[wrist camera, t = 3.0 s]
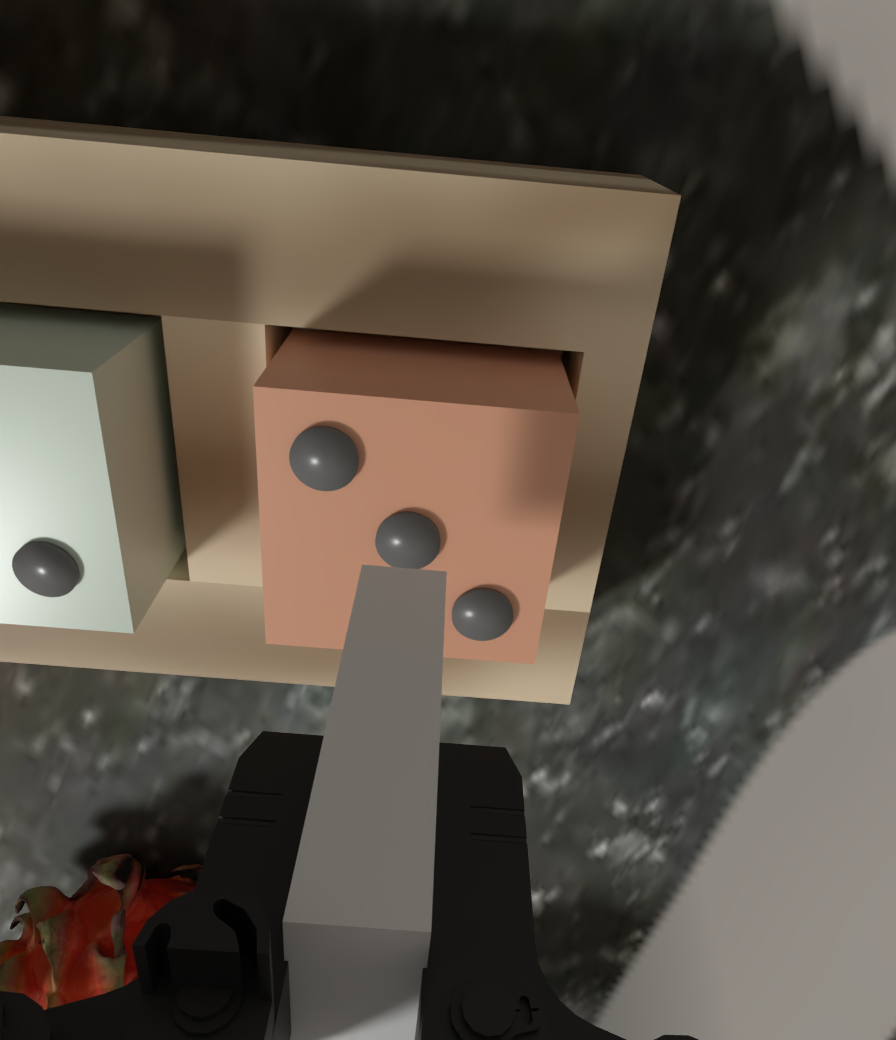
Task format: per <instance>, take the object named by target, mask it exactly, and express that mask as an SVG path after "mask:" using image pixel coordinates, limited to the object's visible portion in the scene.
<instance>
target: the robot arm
mask: <svg viewBox="0 0 896 1040" xmlns="http://www.w3.org/2000/svg"><path fill="white" fill-rule="evenodd" d="M446 577H447V571H435V570H423V569H410V568H398V567H386V566H373V565H362V567H361V571H360V576H359V580H358V585H357V589H356V594H355V598H354V603H353V607H352V612H351V616H350V621H349V625H348V630H347V634H346V639H345V643H344V648H343V652H342V657H341V661H340V666H339V670H338V675H337V679H336V684H335V688H334V693H333V697H332V702H331V706H330V711H329V715H328V720H327V724H326V729H325V733H324V736H319V735H306V734H292V733H279V732H266V731H263V732H262V733H261V734H260V735H259V736H258V737H257V738H256V739H255V741H254V742H253V743H252V744H251V745H250V746H249V747H248V748H247V749H246V751H245V752H244V753H243V754H242V755H241V756H240V757H239V759H238V762H237V765H236V768H235V771H234V774H233V777H232V780H231V783H230V786H229V789H228V795H227V796H226V797H225V800H224V803H223V806H222V809H221V812H220V815H219V821H218V823H217V824H216V827H215V829H214V832H213V835H212V838H211V841H210V844H209V847H208V850H207V853H206V856H205V859H204V862H203V865H202V867H201V870H200V873H199V876H198V879H197V882H196V885H195V888H194V890H193V891H190V892H188V893H186V894H184V895H182V896H179V897H177V898H175V899H173V900H170V901H168V902H167V903H166V904H165V905H164V906H163V907H162V908H160V909H159V910H158V911H157V912H156V913H155V914H154V915H152V916H151V917H150V918H149V919H148V920H147V921H146V922H145V924H144V926H143V927H142V929H141V931H140V932H139V934H138V936H137V937H136V939H135V941H134V942H133V944H132V949H133V953H134V958H135V963H136V967H137V972H138V978H137V979H135V980H133V981H132V982H130V983H128V984H127V985H125V986H123V987H120V988H118V989H115V990H112V991H110V992H107V993H104V994H101V995H97V996H94V997H90V998H86V999H82V1000H79V1001H75V1002H71V1003H67V1004H64V1005H60V1006H56V1007H53V1008H49V1009H45V1010H43V1007H42V1006H41V1005H39V1004H38V1003H37V1002H35V1001H34V1000H32V999H31V998H30V997H28V996H27V995H25V994H24V993H15V992H6V991H0V1040H626V1039H623V1038H621V1037H619V1036H617V1035H614V1034H612V1033H610V1032H608V1031H605V1030H603V1029H601V1028H598V1027H596V1026H594V1025H592V1024H591V1023H589V1022H587V1021H585V1020H584V1019H582V1018H580V1017H578V1016H577V1015H575V1014H574V1013H573V1012H572V1011H571V1010H570V1009H568V1008H567V1007H566V1006H565V1005H564V1004H563V1003H562V1002H561V1001H560V1000H559V999H558V998H557V996H556V995H555V994H554V992H553V991H552V989H551V988H550V987H549V985H548V984H547V982H546V980H545V978H544V975H543V973H542V971H541V969H540V967H539V963H538V958H537V953H536V948H535V937H534V925H533V912H532V899H531V887H530V874H529V861H528V849H527V844H526V837H527V836H526V824H525V816H524V798H523V786H522V776H521V775H520V773H519V771H518V769H517V767H516V766H515V764H514V762H513V760H512V759H511V757H510V755H509V753H508V751H507V750H506V748H503V747H490V746H477V745H464V744H451V743H439V740H440V717H441V694H442V670H443V647H444V624H445V601H446ZM655 1040H698V1039H695V1038H693V1037H691V1036H687V1035H686V1036H684V1035H663V1036H661V1037H659V1038H657V1039H655Z"/></svg>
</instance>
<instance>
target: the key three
mask: <svg viewBox="0 0 896 1040" xmlns="http://www.w3.org/2000/svg"><path fill="white" fill-rule="evenodd" d="M253 399H254V419H255V439H256V459H257V479H258V499H259V519H260V539H261V559H262V580H263V600H264V620H265V640H266V644H276V645H289V646H302V647H315V648H328V649H342V650H343V648H344V643H345V639H346V634H347V630H348V625H349V621H350V616H351V612H352V607H353V603H354V598H355V594H356V589H357V585H358V580H359V576H360V571H361V567H362V565H373V566H386V567H398V568H410V569H423V570H435V571H447V577H446V601H445V624H444V647H443V657H446V658H459V659H472V660H485V661H498V662H511V663H524V664H535V660H536V654H537V649H538V643H539V638H540V632H541V627H542V621H543V616H544V610H545V604H546V599H547V593H548V588H549V582H550V577H551V571H552V566H553V560H554V555H555V549H556V544H557V538H558V533H559V527H560V522H561V516H562V511H563V505H564V500H565V494H566V489H567V483H568V478H569V472H570V467H571V461H572V456H573V450H574V445H575V439H576V434H577V428H578V423H579V417H580V413H579V410H578V407H577V404H576V401H575V398H574V395H573V392H572V389H571V387H570V384H569V381H568V378H567V375H566V372H565V369H564V366H563V364H562V361H561V358H560V355H559V352H558V351H546V350H535V349H523V348H511V347H500V346H488V345H477V344H465V343H454V342H442V341H431V340H419V339H408V338H396V337H385V336H373V335H362V334H350V333H338V332H327V331H315V330H304V329H293V330H292V331H291V333H290V334H289V336H288V337H287V339H286V340H285V341H284V343H283V344H282V346H281V347H280V349H279V350H278V351H277V353H276V354H275V356H274V357H273V358H272V360H271V361H270V363H269V364H268V366H267V367H266V368H265V370H264V371H263V373H262V374H261V376H260V377H259V378H258V380H257V381H256V383H255V384H254V385H253Z"/></svg>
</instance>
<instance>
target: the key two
mask: <svg viewBox="0 0 896 1040" xmlns="http://www.w3.org/2000/svg"><path fill="white" fill-rule="evenodd" d="M185 548H186V540H185V531H184V522H183V512H182V503H181V494H180V485H179V476H178V466H177V457H176V448H175V439H174V429H173V420H172V411H171V402H170V392H169V383H168V374H167V365H166V355H165V346H164V337H163V328H162V319H161V317H154V316H142V315H131V314H119V313H108V312H96V311H85V310H73V309H62V308H50V307H39V306H27V305H16V304H4V303H0V623H3V624H16V625H29V626H42V627H55V628H68V629H81V630H94V631H107V632H120V633H133V634H134V632H135V631H136V629H137V627H138V626H139V624H140V622H141V621H142V619H143V617H144V616H145V614H146V612H147V611H148V609H149V608H150V606H151V604H152V603H153V601H154V599H155V598H156V596H157V594H158V593H159V591H160V589H161V588H162V586H163V584H164V583H165V581H166V579H167V578H168V576H169V574H170V573H171V571H172V569H173V568H174V566H175V564H176V563H177V561H178V560H179V558H180V556H181V555H182V553H183V551H184V550H185Z"/></svg>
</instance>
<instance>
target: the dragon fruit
mask: <svg viewBox="0 0 896 1040" xmlns="http://www.w3.org/2000/svg"><path fill="white" fill-rule="evenodd" d="M201 867H202V866H201V865H199V864H192V865H183V866H180V867H177V868H175V869H173V870H170V871H169V872H176V871H180V872H181V870H189V871H188V872H186V873H181V874H180V875H177V876H174V877H171V878H169V879H163V878H161V879H159V878H158V879H147V880H145V875H146V866H145V864H144V863H143V869H142V865H141V864H140V863H138V861H137V860H135V859H134V858H133V857H132V856H131V854H128V853H124V854H117V855H114V856H111V857H105V858H102V859H98V860H97V862H96V864H95V865H93V866H92V867H91V868H90V870H89V871H88V879H87V880H86V882H85V883H84V884H83V886H82V887H80V888H79V889H78V890H77V892H76V893H75V894H73V895H72V897H71V898H69V897H67V896H65V895H64V894H63V893H62V892H61V891H60V890H59V889H57V888H56V887H52V886H41V887H36V888H32V889H29V890H27V891H25V892H24V893H23V894H22V895H21V896H20V898H19V899H18V901H17V902H16V903H15V912H16V913H17V914H18V913H19V912H20V910H21V909H22V907H23V905H24V903H25V902H26V904H27V906H28V909H29V911H30V912H29V913H24V914H22V915H19V916H17V917H15V919H14V920H13V922H12V924H11V926H10V930H11V929H13V928H14V927H15V926H17V924H18V923H21V924H22V925H23V932H22V935H21V937H20V939H19V940H5V941H2V942H0V991H6V992H15V993H24V994H25V995H27V996H28V997H30V998H31V999H32V1000H34V1001H35V1002H37V1003H38V1004H39V1005H41V1006H42V1007H43V1010H45V1009H49V1008H53V1007H56V1006H60V1005H64V1004H67V1003H71V1002H75V1001H79V1000H82V999H86V998H90V997H94V996H97V995H101V994H104V993H107V992H110V991H112V990H115V989H118V988H120V987H123V986H125V985H127V984H128V983H130V982H132V981H133V980H135V979H137V978H138V972H137V967H136V963H135V958H134V953H133V949H132V944H133V942H134V941H135V939H136V937H137V936H138V934H139V932H140V931H141V929H142V927H143V926H144V924H145V922H146V921H147V920H148V919H149V918H150V917H151V916H152V915H154V914H155V913H156V912H157V911H158V910H159V909H160V908H162V907H163V906H164V905H165V904H166V903H167V902H168V901H170V900H173V899H175V898H177V897H179V896H182V895H184V894H186V893H188V892H190V891H193V890H194V888H195V885H196V882H197V879H198V876H199V873H200V870H201Z"/></svg>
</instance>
